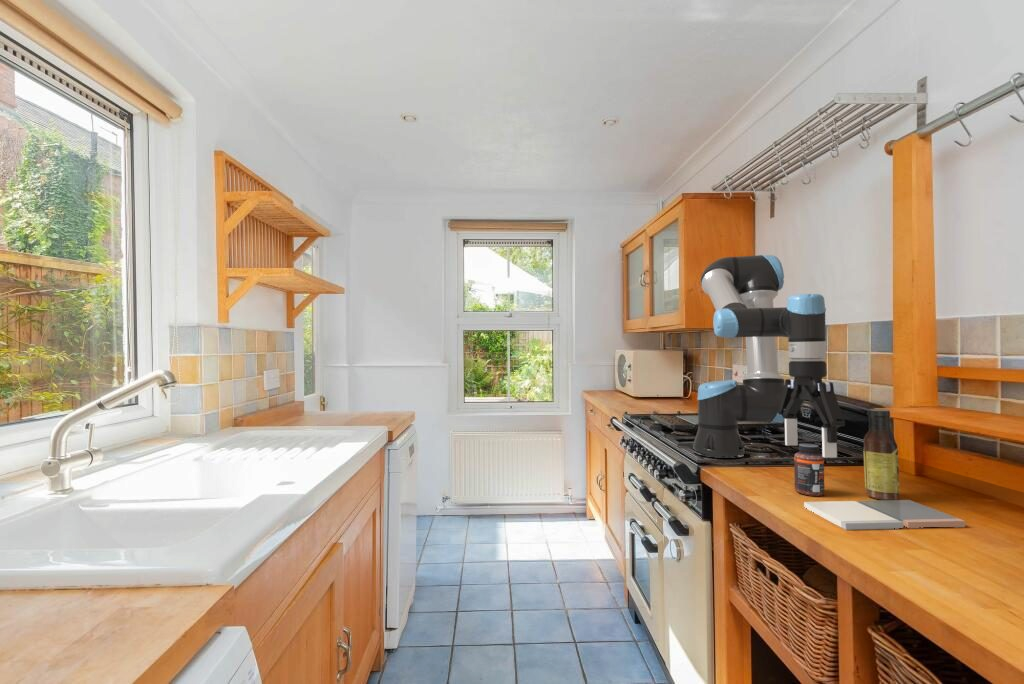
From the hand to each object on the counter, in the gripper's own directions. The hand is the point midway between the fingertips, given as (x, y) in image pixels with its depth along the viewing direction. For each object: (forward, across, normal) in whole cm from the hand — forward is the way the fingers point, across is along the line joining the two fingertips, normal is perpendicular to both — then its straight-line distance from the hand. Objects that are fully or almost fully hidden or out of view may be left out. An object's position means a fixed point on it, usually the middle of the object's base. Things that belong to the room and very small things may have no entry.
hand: (809, 451), depth 110 cm
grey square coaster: (+10, +14, +10) cm, 20 cm away
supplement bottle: (+10, 0, 0) cm, 10 cm away
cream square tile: (+10, +14, -2) cm, 18 cm away
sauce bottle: (+10, +4, +14) cm, 18 cm away
